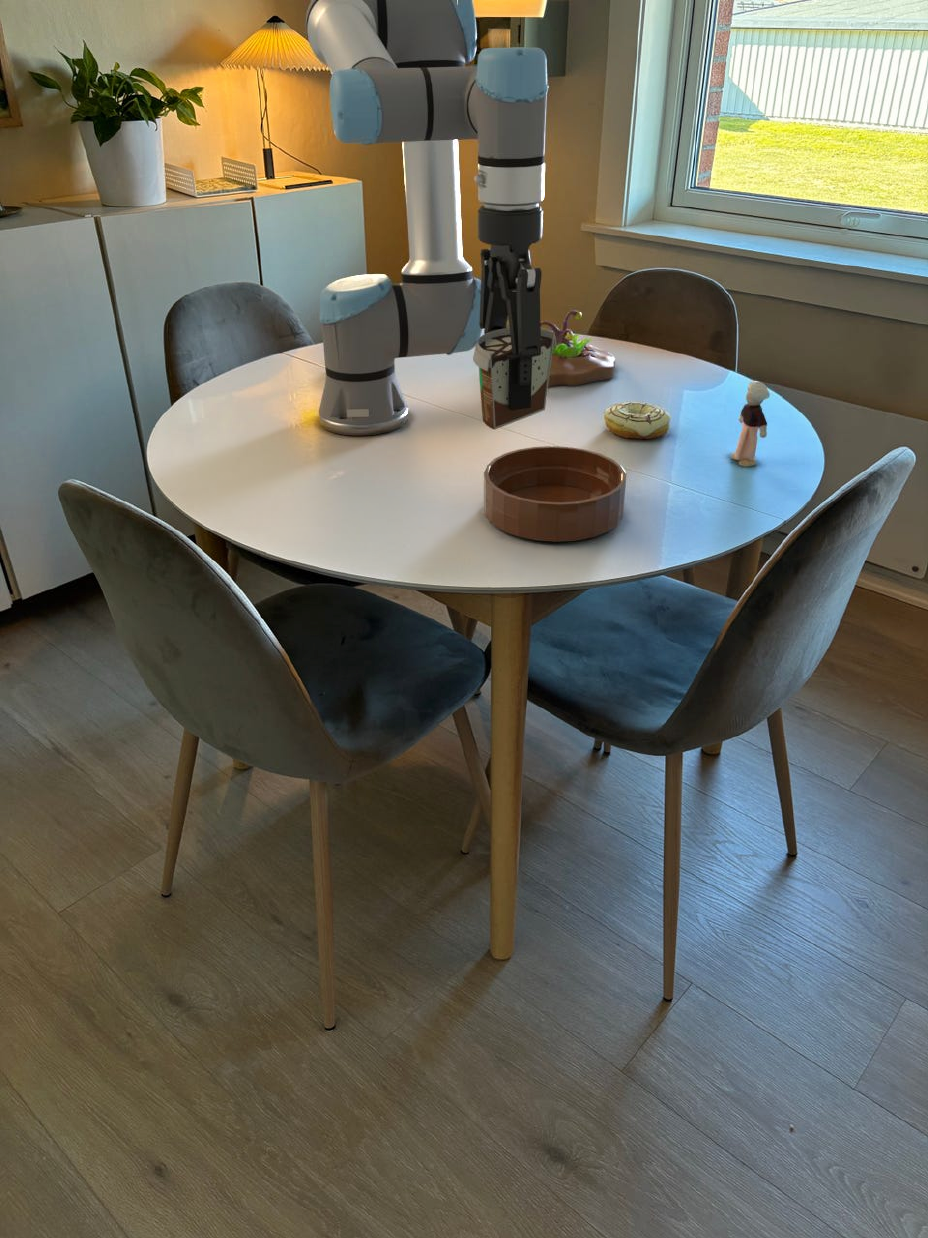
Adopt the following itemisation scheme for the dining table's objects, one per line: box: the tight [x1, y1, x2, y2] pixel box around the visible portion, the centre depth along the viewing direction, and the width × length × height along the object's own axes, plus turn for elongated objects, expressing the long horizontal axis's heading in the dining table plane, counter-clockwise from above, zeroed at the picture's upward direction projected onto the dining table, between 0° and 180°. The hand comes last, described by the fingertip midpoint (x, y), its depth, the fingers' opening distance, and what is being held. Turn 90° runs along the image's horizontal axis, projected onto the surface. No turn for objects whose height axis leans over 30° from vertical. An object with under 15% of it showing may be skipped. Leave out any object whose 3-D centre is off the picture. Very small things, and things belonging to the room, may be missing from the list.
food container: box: [472, 327, 556, 431], centre depth 118 cm, size 12×6×10 cm, turn 133°
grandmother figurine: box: [730, 380, 771, 468], centre depth 140 cm, size 8×4×13 cm, turn 23°
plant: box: [541, 309, 616, 388], centre depth 180 cm, size 20×20×11 cm
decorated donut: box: [603, 401, 671, 440], centre depth 154 cm, size 10×11×4 cm
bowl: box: [483, 445, 627, 543], centre depth 128 cm, size 19×19×6 cm
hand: (507, 397), depth 119 cm, fingers closed on food container, 7 cm apart
